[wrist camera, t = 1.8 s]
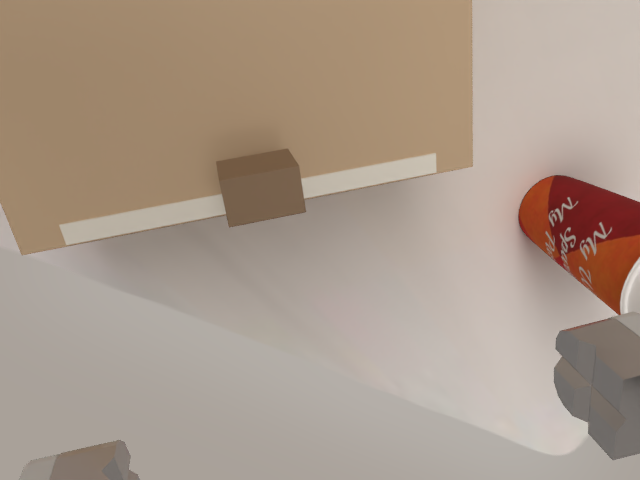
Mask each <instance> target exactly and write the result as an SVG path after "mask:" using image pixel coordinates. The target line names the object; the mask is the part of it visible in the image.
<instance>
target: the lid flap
mask: <svg viewBox="0 0 640 480" xmlns="http://www.w3.org/2000/svg"><path fill="white" fill-rule="evenodd" d="M468 167H473V133H472V0H0V203H1V205H2V208H3V210H4V212H5V215H6V217H7V220H8V222H9V225H10V227H11V230H12V232H13V235H14V237H15V240H16V242H17V244H18V247H19V249H20V252H21V254H22V255H26V254H31V253H36V252H41V251H46V250H51V249H56V248H62V247H67V246H72V245H77V244H82V243H87V242H92V241H97V240H102V239H107V238H112V237H117V236H123V235H128V234H133V233H138V232H143V231H148V230H153V229H158V228H163V227H168V226H173V225H178V224H184V223H189V222H194V221H199V220H204V219H209V218H214V217H219V216H224V215H226V216H227V220H228V225H229V227H234V226H239V225H244V224H249V223H254V222H259V221H264V220H269V219H274V218H279V217H284V216H289V215H294V214H299V213H304V212H306V209H305V202H304V200H306V199H311V198H316V197H321V196H326V195H331V194H336V193H341V192H346V191H351V190H356V189H362V188H367V187H372V186H377V185H382V184H387V183H392V182H397V181H402V180H407V179H412V178H417V177H423V176H428V175H433V174H438V173H443V172H448V171H453V170H458V169H463V168H468Z"/></svg>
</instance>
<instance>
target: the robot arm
mask: <svg viewBox="0 0 640 480" xmlns="http://www.w3.org/2000/svg"><path fill="white" fill-rule="evenodd" d="M556 350H557V351H558V352H559V353H560V354H561V355H562V357H561V359H560V360H559V362H558V363H557V365H556V366H555V367H554V383H555V387H556V390H557V393H558V396H559V398H560V400H561V401H562V403H563V405H564V406H565V408H566V409H567V410H568V411H569V412H570V413H571V415H572V416H574V417H577V418H579V419H581V420H584V421H586V422H588V434H589V435H590V436H591V437H592V438H593V439H594V440H595V441H596V442H597V443H598V445H599V446H600V447H601V448H602V449H603V450H604V451H605V452H606V453H607V455H608V456H609V457H610V458H611V459H612V460H616V459H620V458H624V457H627V456H631V455H635V454H639V453H640V313H636V312H629V313H625V314H622V315H618V316H614V317H611V318H608V319H605V320H601V321H597V322H593V323H589V324H585V325H581V326H577V327H574V328H570V329H566V330H562V331H560V332H559V334H558V336H557V338H556ZM129 464H130V454H129V451H128V449H127V447H126V444H125V442H123V441H121V440H117V441H113V442H108V443H104V444H99V445H95V446H91V447H86V448H82V449H77V450H73V451H68V452H64V453H61V454H57V455H53V456H49V457H44V458H39V459H35V460H31V461H30V462H29V463H28V464H27V465H26V466H25V467H24V469H23V471H22V474H21V476H20V479H19V480H140V479H139V476H138V474H136V473H134V472H132V471H130V470H129Z"/></svg>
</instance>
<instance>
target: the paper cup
mask: <svg viewBox="0 0 640 480" xmlns="http://www.w3.org/2000/svg"><path fill="white" fill-rule="evenodd" d="M519 223H520V227H521V229H522V230H523V232H524V233H525V234H526V235H527V236H528V237H529V238H530V239H531V240H532V241H533V242H534V243H535V244H536V245H537V246H538V247H540V248H541V249H542V250H543V251H544V252H545V253H546V254H548V255H549V256H550V257H551V258H552V259H553V260H555V261H556V262H557V263H558V264H559V265H561V266H562V267H563V268H564V269H565V270H566V271H568V272H569V273H570V274H571V275H572V276H573V277H575V278H576V279H577V280H578V281H579V282H581V283H582V284H583V285H584V286H585V287H586V288H588V289H589V290H590V291H591V292H592V293H594V294H595V295H596V296H597V297H598V298H600V299H601V300H602V301H603V302H604V303H605V304H607V305H608V306H609V307H610V308H611V309H613V310H614V311H615V312H616V313H617V314H618V315H622V314H625V313H629V312H636V313H640V202H638V201H635V200H632V199H630V198H627V197H624V196H621V195H619V194H616V193H613V192H611V191H608V190H605V189H602V188H600V187H597V186H594V185H591V184H589V183H586V182H583V181H580V180H577V179H574V178H571V177H567V176H561V175H556V176H550V177H547V178H545V179H543V180H541V181H539V182H538V183H536V184H535V185H534V186H533V187H532V188H531V189H530V190H529V191H528V192H527V194H526V195H525V197H524V199H523V201H522V203H521V206H520V209H519Z"/></svg>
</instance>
